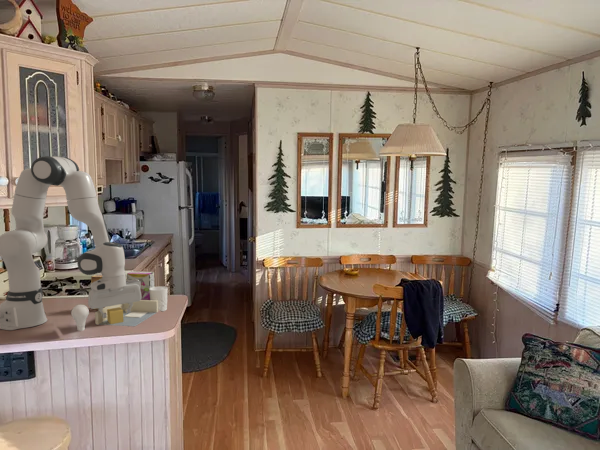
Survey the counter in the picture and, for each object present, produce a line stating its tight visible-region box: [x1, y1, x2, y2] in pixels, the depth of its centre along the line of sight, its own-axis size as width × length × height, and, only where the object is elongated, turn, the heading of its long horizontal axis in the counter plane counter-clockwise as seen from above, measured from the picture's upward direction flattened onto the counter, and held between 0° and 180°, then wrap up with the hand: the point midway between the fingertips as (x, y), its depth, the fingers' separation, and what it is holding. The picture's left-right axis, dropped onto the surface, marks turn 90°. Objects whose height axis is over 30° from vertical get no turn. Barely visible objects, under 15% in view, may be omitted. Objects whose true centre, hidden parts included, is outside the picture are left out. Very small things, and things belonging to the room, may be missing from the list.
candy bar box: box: [126, 270, 155, 300], centre depth 209 cm, size 11×5×16 cm, turn 84°
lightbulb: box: [70, 304, 90, 332], centre depth 174 cm, size 6×6×11 cm
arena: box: [94, 300, 159, 327], centre depth 190 cm, size 17×20×6 cm
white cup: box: [149, 285, 169, 312], centre depth 205 cm, size 8×8×10 cm
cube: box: [107, 307, 124, 324], centre depth 185 cm, size 5×5×5 cm
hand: (116, 315), depth 185 cm, fingers open, 8 cm apart
